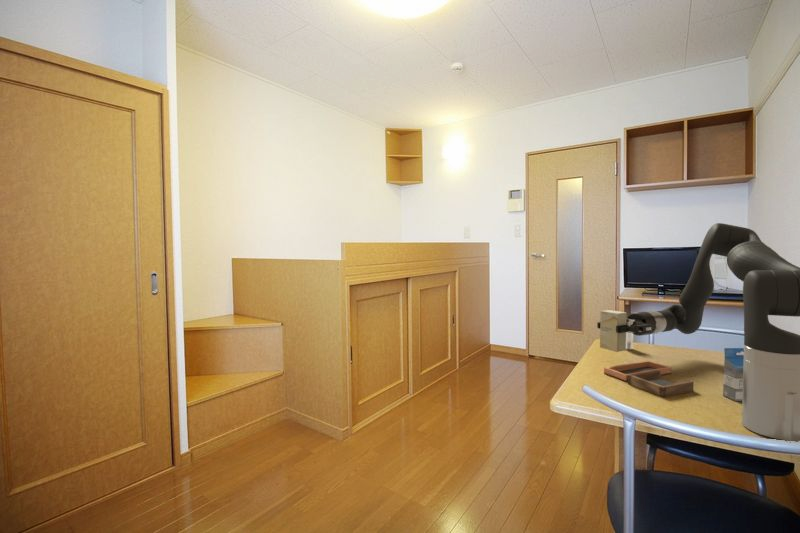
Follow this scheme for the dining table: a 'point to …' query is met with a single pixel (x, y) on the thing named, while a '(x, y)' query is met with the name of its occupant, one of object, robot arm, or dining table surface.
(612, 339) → the skincare box
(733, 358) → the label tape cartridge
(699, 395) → the dining table surface
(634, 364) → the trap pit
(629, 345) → the milkshake
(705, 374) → the dining table surface
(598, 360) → the dining table surface
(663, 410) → the dining table surface
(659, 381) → the walled bay
